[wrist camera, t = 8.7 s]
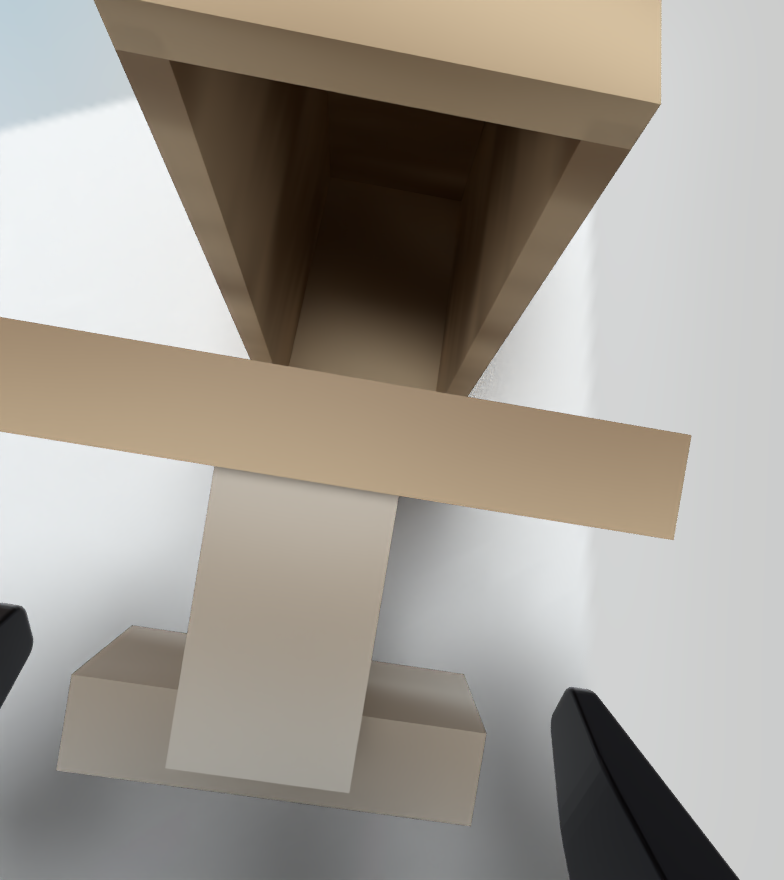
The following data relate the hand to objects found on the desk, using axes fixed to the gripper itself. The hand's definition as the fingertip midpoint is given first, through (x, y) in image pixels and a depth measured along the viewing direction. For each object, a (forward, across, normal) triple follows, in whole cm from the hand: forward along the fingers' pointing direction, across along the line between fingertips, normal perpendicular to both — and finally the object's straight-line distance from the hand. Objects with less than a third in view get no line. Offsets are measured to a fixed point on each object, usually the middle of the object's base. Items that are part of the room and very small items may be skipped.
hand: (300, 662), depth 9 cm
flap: (+7, 0, +2) cm, 8 cm away
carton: (+13, 0, -3) cm, 13 cm away
